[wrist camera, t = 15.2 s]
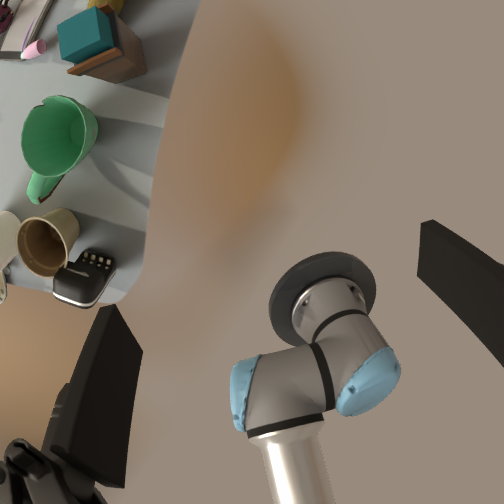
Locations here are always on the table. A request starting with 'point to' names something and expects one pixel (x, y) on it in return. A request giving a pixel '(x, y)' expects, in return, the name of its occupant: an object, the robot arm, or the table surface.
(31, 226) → the flower pot
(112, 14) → the base
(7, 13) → the figurine
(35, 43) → the earplug
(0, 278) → the salad plate
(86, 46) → the teal cube
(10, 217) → the cup
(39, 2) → the smartphone
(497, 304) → the robot arm
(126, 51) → the wooden tower block
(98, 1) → the ocarina
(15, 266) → the table surface
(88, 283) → the battery charger
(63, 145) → the mug
